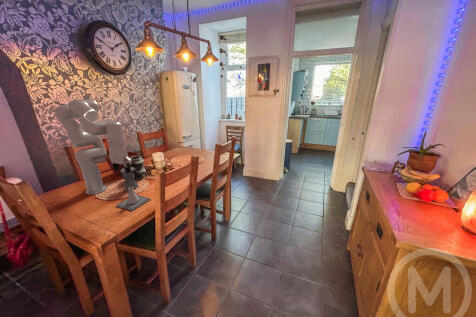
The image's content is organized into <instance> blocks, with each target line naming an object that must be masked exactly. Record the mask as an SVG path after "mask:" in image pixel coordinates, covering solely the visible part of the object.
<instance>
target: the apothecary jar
mask: <svg viewBox="0 0 476 317" xmlns="http://www.w3.org/2000/svg"><path fill="white" fill-rule="evenodd" d="M130 159H131V160H132V162H131V166H130V167H134V168H135V171H136V172H137V179H136V181H138V180H143V179H145V177H146V175H145V173H146V171H147V170H146V169H145V167H144V163H145V160H144V158H142V156H141V155H139V156H133V157H130Z"/></svg>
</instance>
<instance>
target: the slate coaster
mask: <svg viewBox="0 0 476 317" xmlns="http://www.w3.org/2000/svg"><path fill="white" fill-rule="evenodd" d="M136 195H137V196H138V197H139V199H140V200H139V202H137V203H136V204H127V201H128V198H126V199H125V200H122V201H121V202H119V203H118V204H116V205H115V207H117V208H120V209H123V210H127V211H129V212H134V211H136V210H137V209H138V208H140V207H142V206H143V205H145V204H147V203H148V202H149V201H151V200H152V199H151V198H150V197H146V196H142V195H140V194H139V195H138V194H136Z"/></svg>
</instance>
